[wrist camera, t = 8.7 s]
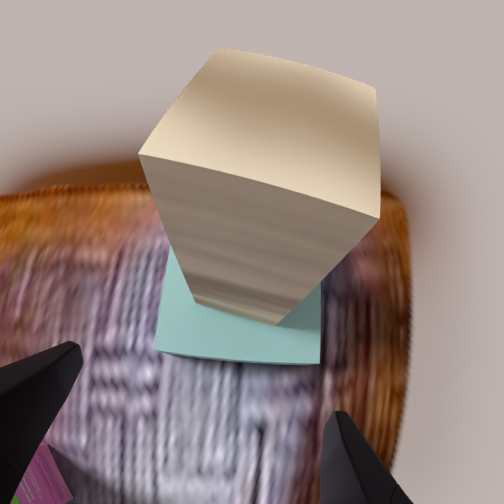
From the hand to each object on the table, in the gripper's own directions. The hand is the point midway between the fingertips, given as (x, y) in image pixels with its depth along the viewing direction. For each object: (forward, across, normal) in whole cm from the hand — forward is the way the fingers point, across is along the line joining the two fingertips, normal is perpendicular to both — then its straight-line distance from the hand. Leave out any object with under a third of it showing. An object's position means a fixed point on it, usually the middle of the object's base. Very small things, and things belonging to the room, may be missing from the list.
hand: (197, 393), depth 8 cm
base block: (+13, 0, +4) cm, 14 cm away
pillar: (+10, 0, 0) cm, 10 cm away
